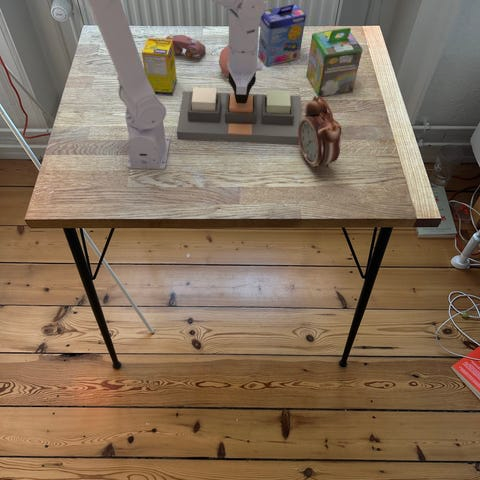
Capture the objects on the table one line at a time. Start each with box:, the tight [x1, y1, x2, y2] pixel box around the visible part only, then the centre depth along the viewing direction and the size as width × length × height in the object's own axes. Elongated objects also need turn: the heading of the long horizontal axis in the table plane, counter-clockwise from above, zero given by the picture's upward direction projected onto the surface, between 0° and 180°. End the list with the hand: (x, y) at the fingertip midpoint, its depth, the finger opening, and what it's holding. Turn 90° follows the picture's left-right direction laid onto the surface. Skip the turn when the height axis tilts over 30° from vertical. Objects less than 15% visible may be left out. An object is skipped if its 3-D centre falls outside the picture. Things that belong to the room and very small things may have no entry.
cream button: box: [192, 86, 218, 111], centre depth 110 cm, size 5×5×3 cm
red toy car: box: [165, 34, 207, 58], centre depth 127 cm, size 10×5×7 cm, turn 73°
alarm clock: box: [298, 95, 342, 173], centre depth 101 cm, size 11×5×15 cm, turn 21°
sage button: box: [266, 89, 291, 114], centre depth 110 cm, size 5×5×3 cm
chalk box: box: [306, 27, 364, 97], centre depth 117 cm, size 9×9×15 cm
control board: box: [176, 90, 303, 145], centre depth 112 cm, size 14×27×4 cm, turn 88°
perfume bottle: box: [218, 43, 229, 78], centre depth 120 cm, size 8×8×12 cm
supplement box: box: [141, 37, 178, 96], centre depth 116 cm, size 6×6×11 cm
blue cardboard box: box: [257, 3, 307, 67], centre depth 124 cm, size 10×6×14 cm, turn 115°
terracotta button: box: [229, 93, 253, 113], centre depth 111 cm, size 5×5×3 cm
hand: (241, 101), depth 110 cm, fingers closed, pressing on terracotta button
